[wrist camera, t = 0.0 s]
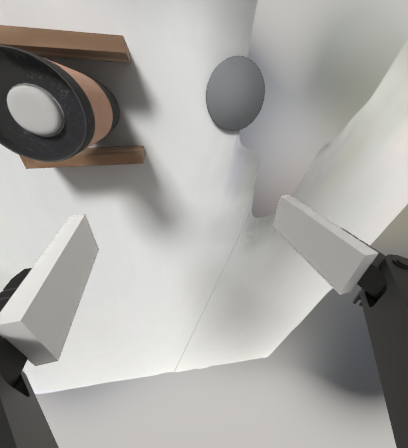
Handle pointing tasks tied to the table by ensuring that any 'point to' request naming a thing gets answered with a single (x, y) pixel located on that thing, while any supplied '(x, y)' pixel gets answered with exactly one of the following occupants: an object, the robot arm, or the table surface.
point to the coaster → (235, 93)
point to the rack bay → (75, 49)
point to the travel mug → (50, 107)
